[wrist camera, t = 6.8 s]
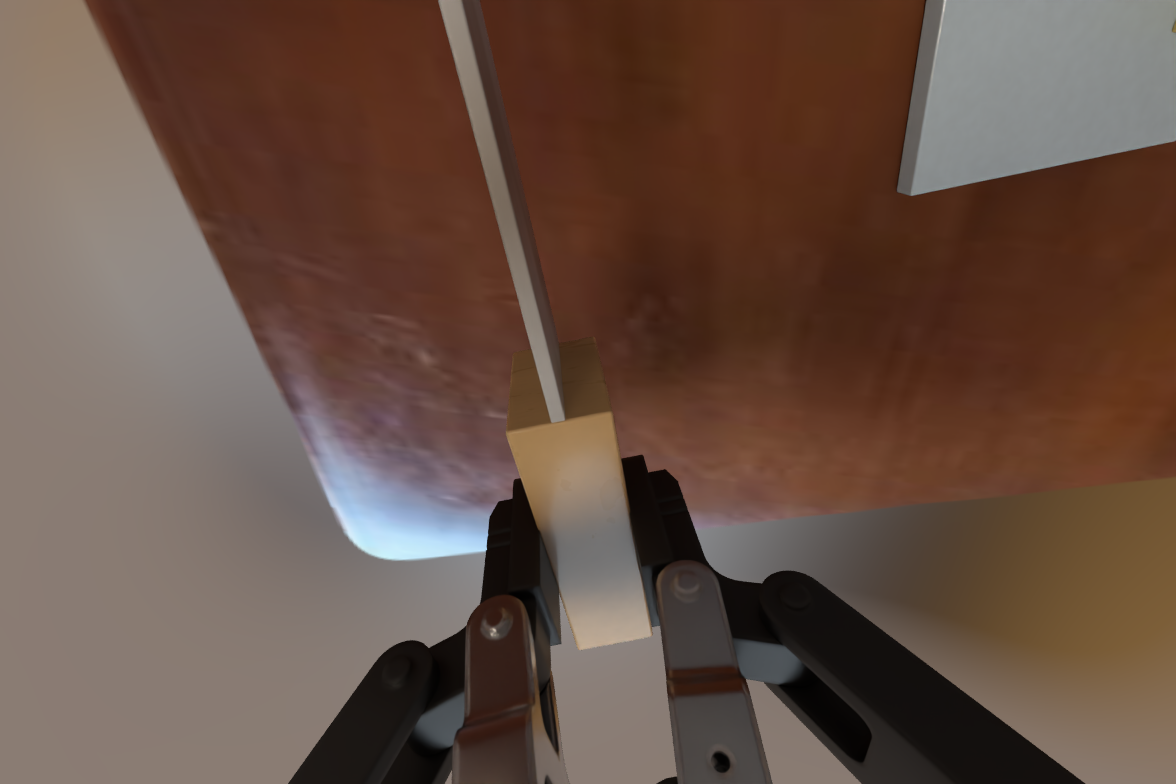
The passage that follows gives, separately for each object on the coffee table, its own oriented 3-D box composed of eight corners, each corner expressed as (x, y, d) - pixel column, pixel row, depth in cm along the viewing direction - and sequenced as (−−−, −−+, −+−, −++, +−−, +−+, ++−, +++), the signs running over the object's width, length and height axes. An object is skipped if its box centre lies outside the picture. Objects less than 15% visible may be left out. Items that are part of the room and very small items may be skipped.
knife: (632, 539, 17) (653, 637, 14) (570, 551, 17) (578, 651, 14) (502, -155, 8) (481, -311, 5) (372, -127, 8) (270, -263, 5)
